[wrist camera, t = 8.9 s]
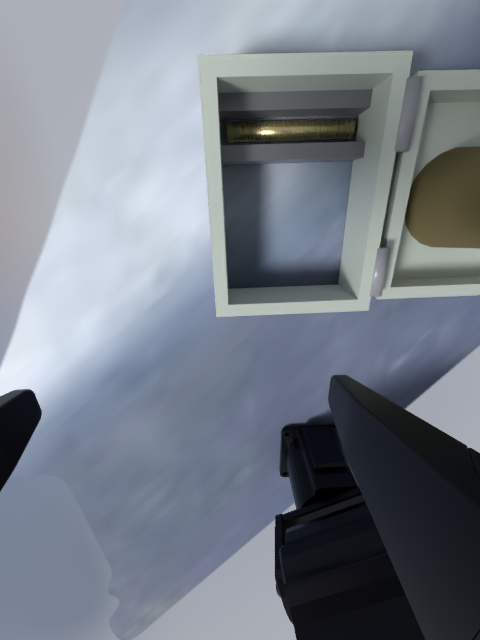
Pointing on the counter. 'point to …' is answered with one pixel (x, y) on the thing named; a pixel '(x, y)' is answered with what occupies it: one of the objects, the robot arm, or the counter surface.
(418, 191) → the cork
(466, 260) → the lid
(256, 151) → the case
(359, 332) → the counter surface
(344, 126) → the rod
